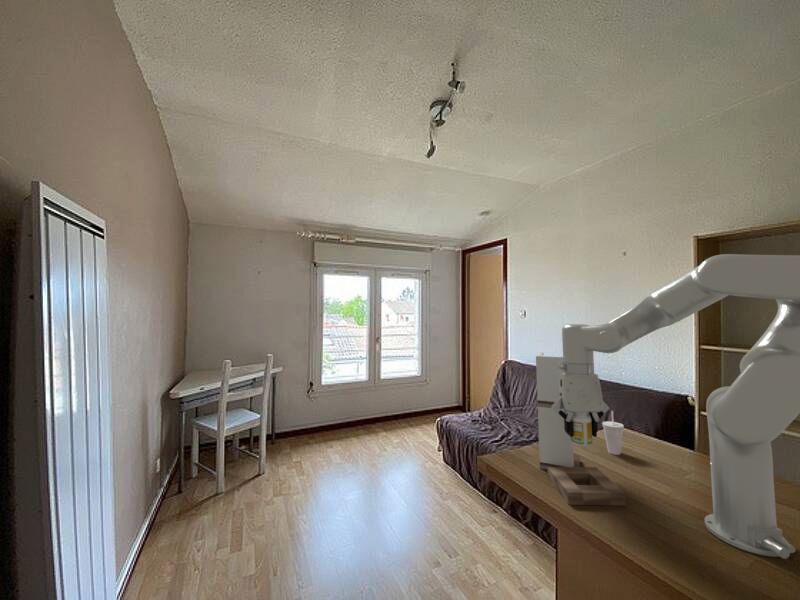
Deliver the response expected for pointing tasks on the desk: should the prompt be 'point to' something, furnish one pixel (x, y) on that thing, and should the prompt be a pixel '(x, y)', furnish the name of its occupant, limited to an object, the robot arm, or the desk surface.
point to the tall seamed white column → (552, 416)
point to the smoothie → (613, 436)
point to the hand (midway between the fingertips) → (581, 434)
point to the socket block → (585, 486)
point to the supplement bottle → (581, 429)
